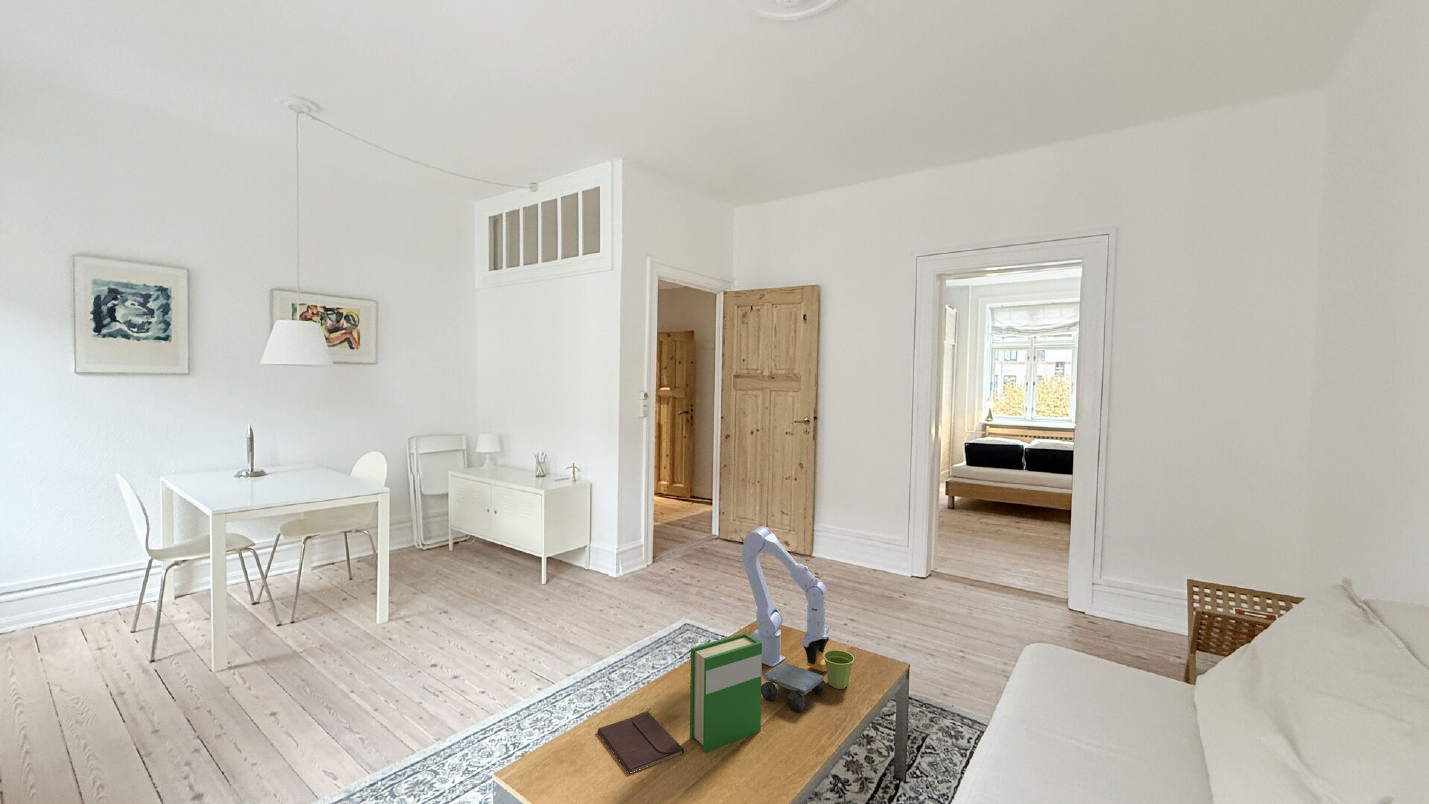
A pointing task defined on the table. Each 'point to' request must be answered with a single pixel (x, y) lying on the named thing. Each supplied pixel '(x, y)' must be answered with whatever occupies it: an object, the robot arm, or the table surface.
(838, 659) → the plant pot
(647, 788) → the table surface
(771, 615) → the robot arm
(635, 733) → the notebook
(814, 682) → the trolley
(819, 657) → the orange stepped block
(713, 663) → the hardback book
